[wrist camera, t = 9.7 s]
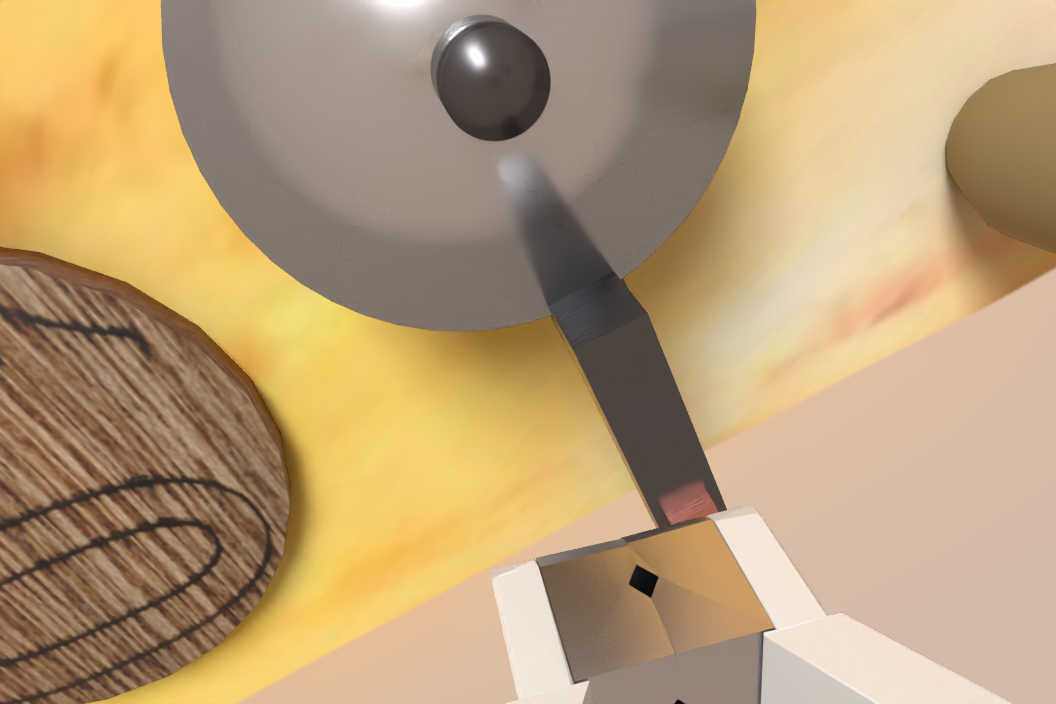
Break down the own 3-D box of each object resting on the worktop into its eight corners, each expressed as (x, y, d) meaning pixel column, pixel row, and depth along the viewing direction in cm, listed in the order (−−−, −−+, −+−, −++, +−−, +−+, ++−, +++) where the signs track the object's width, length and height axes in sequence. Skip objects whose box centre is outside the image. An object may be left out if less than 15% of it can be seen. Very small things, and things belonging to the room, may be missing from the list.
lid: (636, -429, 18) (728, -517, 14) (843, 391, 32) (919, 463, 28) (20, -104, 19) (-59, -100, 15) (488, 570, 33) (514, 666, 29)
